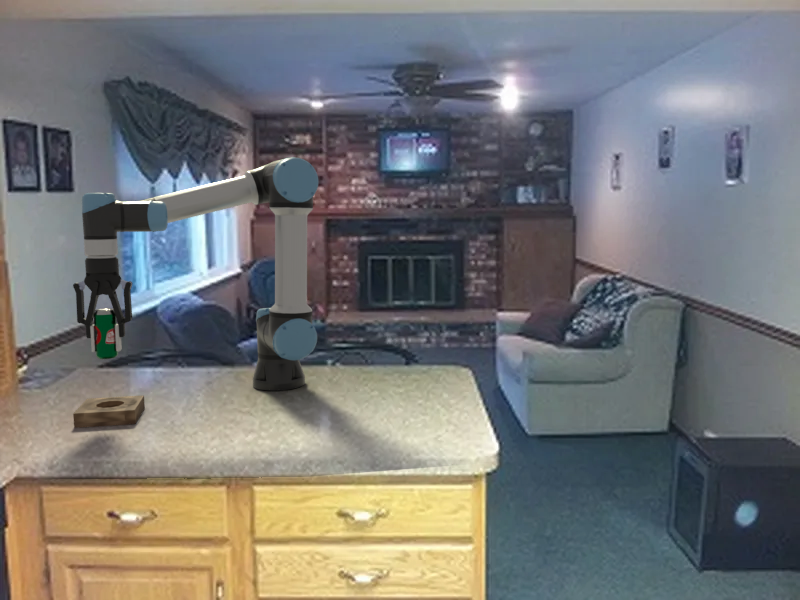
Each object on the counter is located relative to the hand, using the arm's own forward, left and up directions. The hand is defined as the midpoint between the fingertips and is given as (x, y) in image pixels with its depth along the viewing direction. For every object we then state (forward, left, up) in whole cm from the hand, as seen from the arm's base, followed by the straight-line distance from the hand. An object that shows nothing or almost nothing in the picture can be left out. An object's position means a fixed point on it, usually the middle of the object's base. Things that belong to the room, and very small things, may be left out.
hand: (106, 350), depth 181 cm
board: (0, 0, -17) cm, 17 cm away
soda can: (0, 0, -2) cm, 2 cm away
